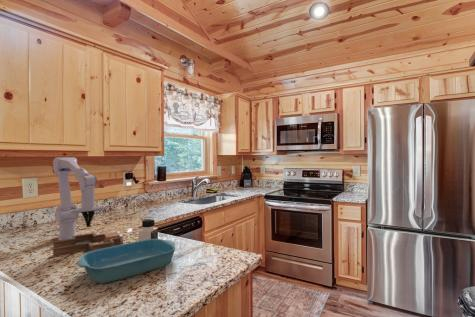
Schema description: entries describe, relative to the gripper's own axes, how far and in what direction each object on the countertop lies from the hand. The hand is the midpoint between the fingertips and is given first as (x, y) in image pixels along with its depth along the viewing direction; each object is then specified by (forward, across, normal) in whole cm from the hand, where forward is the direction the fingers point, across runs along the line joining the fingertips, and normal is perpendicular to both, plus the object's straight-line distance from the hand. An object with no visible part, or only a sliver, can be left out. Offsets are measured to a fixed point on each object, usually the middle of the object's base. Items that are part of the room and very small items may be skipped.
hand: (88, 226), depth 129 cm
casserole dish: (+10, +11, -40) cm, 42 cm away
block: (+10, +11, -1) cm, 14 cm away
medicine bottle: (+9, +26, -14) cm, 31 cm away
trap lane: (+9, 0, -1) cm, 9 cm away
